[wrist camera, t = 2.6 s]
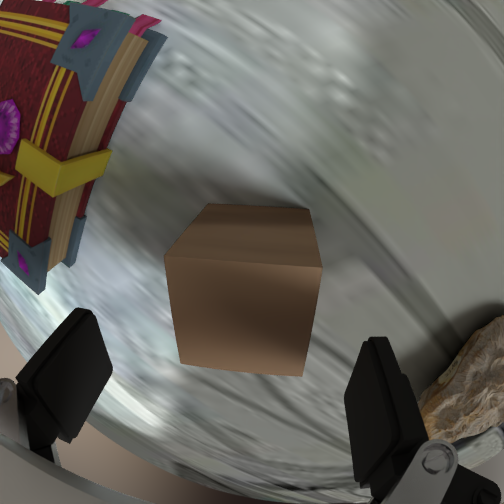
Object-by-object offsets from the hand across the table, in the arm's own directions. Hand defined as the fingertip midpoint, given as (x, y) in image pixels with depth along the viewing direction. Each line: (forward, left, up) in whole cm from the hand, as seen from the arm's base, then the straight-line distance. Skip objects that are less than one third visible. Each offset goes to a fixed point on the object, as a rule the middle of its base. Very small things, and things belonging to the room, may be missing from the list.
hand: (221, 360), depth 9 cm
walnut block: (-1, 0, -7) cm, 7 cm away
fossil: (+9, +19, -8) cm, 22 cm away
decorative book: (-9, -12, -8) cm, 17 cm away
